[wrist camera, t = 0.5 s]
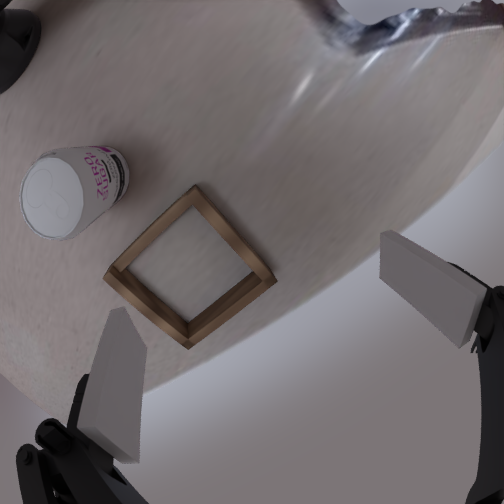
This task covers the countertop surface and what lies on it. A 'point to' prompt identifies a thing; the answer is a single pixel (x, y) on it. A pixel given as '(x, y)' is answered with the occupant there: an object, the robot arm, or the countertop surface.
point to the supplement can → (72, 189)
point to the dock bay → (219, 309)
